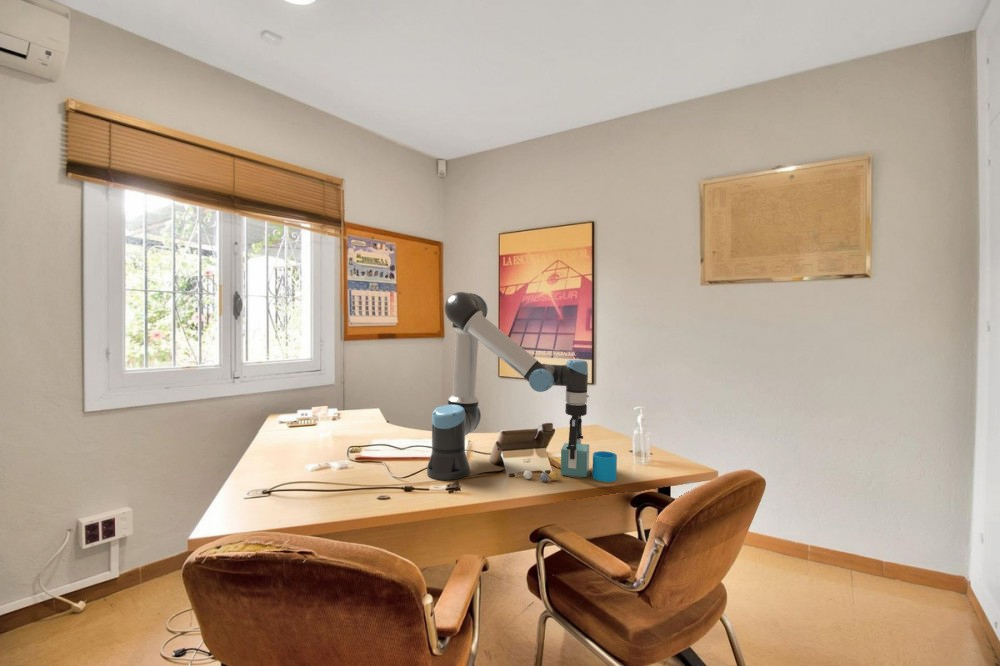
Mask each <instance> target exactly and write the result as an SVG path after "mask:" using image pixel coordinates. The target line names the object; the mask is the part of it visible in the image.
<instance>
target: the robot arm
mask: <svg viewBox="0 0 1000 666" xmlns="http://www.w3.org/2000/svg"><path fill="white" fill-rule="evenodd" d="M488 310H489V309H488V305H487V302H486V300H484V298H483V297H481V296H480V295H478V294H476V293H472V292H464V291H458V292H454V293H452V294H451V295H449V296H448V298H447V300H446V301H445V304H444V312H445V315H446V318H447V319H448V321H449V322H451V323H452V329H453V330H454V331H455V345H454V347H455V350H454V363H453V364H454V365H453V378H452V381H453V383H452V394H451V395H450V396H449V397H448V398H447V399H448V400H447V404H444V405H440V406H438V407H435V409H434V410H432V414H431V455H430V457H429V461H428V464H427V467H426V475H427V476H428V477H430V478H432V479H436V480H441V481H442V480H443V481H445V480H446V481H448V480H449V481H450V480H451V481H452V480H458V479H463V478H466V477H467V476H468V475H469V474H470V471H471V469H470V463H469V460H468V457H467V454H466V448H465V447H466V446H465V445H466V436H468V435H469V434H470V433H472V432H474V431H475V430H476V429H477V427H478V426H479V424H480V423H481V419H482V414H481V413H482V412H481V410H480V408H479V398H477V396H476V382H477V366H478V364H477V363H478V350H479V342H480V343H481V344H483V345H484V346H485V347H486V348H487V349H489V350H490V351H491V352H492V353H493V354H494V355H496V356H497V357H499V359H501V360H502V361H503V362H504V363H505V364H507V366H508V367H510V368H511V369H512V370H514V371H515V372H516V373H517V374H519V375H520V376H521V377H522V378H523V379H524V380H525V381H526V382H527V383H528V384H529V386H530V387H531V389H532V390H533V391H535V392H537V393H538V392H540V393H542V392H547V391H548V390H550V389H551V388H552V387H553V386H554V387H555V386H556V387H565V402H566V403H565V410H564V411H565V414H566V415H567V416H571V417H570V419H569V432H568V433H569V434H568V442H567V443H568V447H567V449H569V456H568V468H575V469H576V461H577V448H576V446H577V444H582V440H583V439H584V435H583V433H582V432H583V431H582V429H583V428H582V426H583V425H582V423H583V419H582V417H584V416H586V415H587V412H588V405H587V403H588V398H590V396H589V394H588V384H589V383H588V382H589V369H588V367H589V366H588V365H589V364H588V362H587V360H582V359H568V360H566V364H550V363H549V364H547V363H541V362H540V361H539V360H538V359H536V358H535V357H534V356H533V355H532V354H530V353H529V352H528V351H527V350H526V349H525V348H523V347H521V345H519V344H518V343H517V342H516V341H514V340H513V339H512V338H510V337H509V336H508V335H507V334H506V333H505V332H503V331H502V330H501V329H500V328H498V326H496V325H495V324H493V322H491V321H490V320H489V319H488V318H486V317H487V315H488ZM571 445H574V446H571Z"/></svg>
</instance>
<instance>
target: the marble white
mask: <svg viewBox="0 0 1000 666" xmlns="http://www.w3.org/2000/svg"><path fill="white" fill-rule="evenodd" d="M522 474H523V478H524V479H526V480H530V479H532V478H533V472H532V471H531V470H529V469H527V470H524V471H523V473H522Z"/></svg>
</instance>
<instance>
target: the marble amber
mask: <svg viewBox="0 0 1000 666" xmlns="http://www.w3.org/2000/svg"><path fill="white" fill-rule="evenodd" d="M548 476H549V478H548V479H550V480H551V481H556V480H558V477H559V475H558V472H555V471H551V472H550V473H549V474H548Z"/></svg>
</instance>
